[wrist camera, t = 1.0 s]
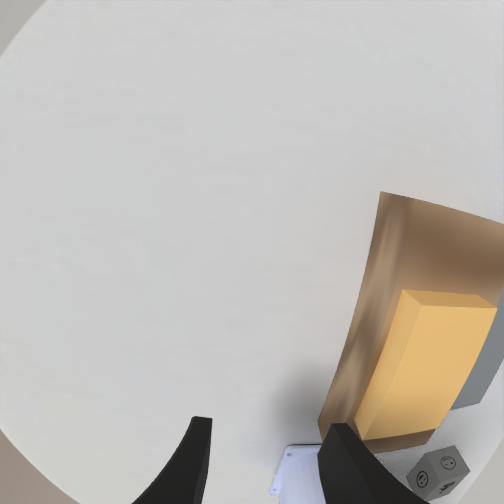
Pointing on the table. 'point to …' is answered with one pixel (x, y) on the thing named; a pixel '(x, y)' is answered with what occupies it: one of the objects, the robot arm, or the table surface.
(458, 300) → the yellow orange block
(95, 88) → the table surface
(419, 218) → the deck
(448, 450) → the dice cube
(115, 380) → the table surface
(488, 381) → the mat
